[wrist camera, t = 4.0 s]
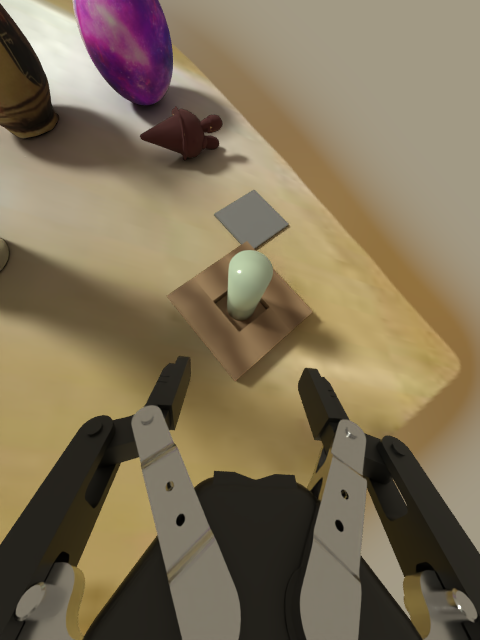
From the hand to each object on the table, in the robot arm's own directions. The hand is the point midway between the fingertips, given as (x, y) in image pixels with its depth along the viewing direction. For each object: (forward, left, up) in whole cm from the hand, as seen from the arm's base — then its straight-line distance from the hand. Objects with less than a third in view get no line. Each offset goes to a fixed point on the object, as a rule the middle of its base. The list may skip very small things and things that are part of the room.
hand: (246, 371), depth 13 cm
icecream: (+20, +39, -15) cm, 46 cm away
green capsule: (+7, +7, -15) cm, 17 cm away
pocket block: (+7, +7, -15) cm, 18 cm away
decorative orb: (+22, +57, -15) cm, 63 cm away
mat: (+20, +19, -15) cm, 31 cm away
